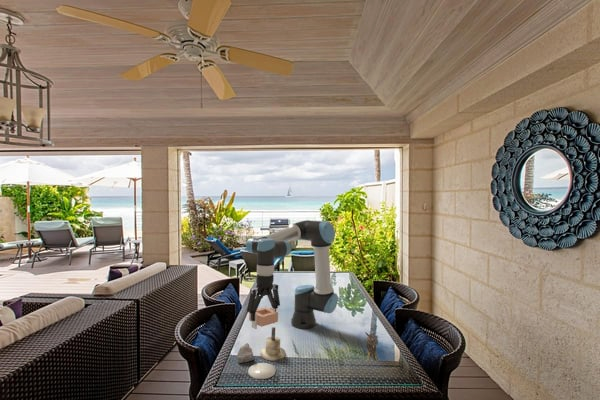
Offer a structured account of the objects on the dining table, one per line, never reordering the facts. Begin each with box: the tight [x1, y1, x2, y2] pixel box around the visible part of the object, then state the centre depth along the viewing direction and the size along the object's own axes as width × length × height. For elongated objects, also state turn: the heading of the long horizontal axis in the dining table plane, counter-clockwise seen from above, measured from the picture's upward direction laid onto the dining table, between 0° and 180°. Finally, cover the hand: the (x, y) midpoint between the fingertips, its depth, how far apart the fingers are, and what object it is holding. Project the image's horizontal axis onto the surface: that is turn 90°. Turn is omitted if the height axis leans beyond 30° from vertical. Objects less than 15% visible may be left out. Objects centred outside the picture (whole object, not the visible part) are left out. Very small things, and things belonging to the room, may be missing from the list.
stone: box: [236, 342, 255, 364], centre depth 151 cm, size 8×10×6 cm
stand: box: [259, 326, 286, 362], centre depth 156 cm, size 12×12×13 cm
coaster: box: [247, 362, 276, 380], centre depth 140 cm, size 12×12×1 cm
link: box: [248, 306, 279, 328], centre depth 140 cm, size 9×9×4 cm
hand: (263, 325), depth 140 cm, fingers closed on link, 9 cm apart
